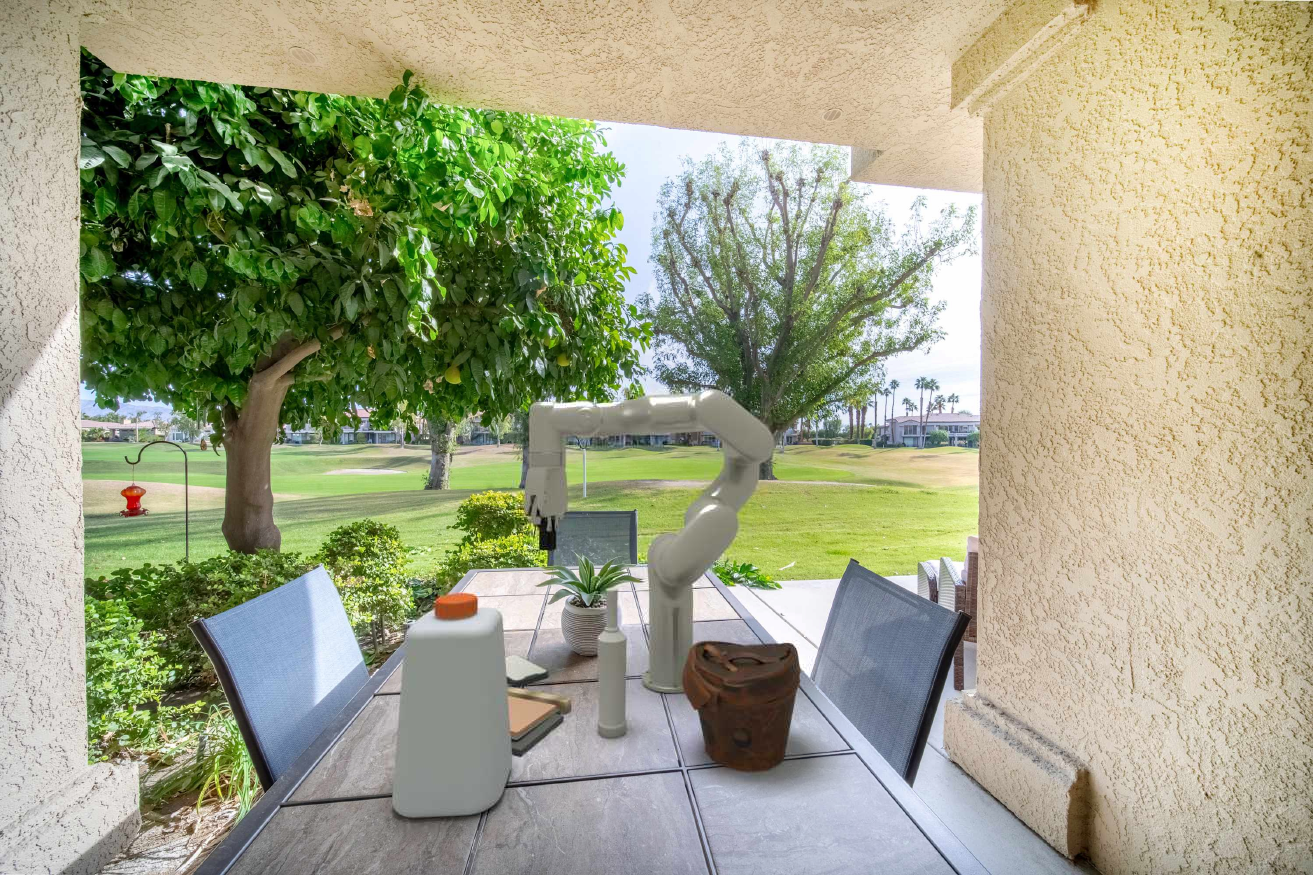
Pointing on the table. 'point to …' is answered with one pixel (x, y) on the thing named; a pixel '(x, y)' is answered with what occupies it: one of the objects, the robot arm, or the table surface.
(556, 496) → the robot arm
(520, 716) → the tile
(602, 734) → the bottle
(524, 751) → the rubber mat
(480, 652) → the plastic bottle
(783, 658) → the case
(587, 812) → the table surface
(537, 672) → the phone case
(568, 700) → the tile stand
